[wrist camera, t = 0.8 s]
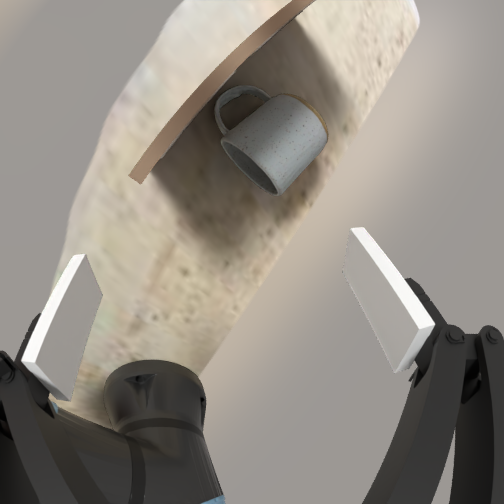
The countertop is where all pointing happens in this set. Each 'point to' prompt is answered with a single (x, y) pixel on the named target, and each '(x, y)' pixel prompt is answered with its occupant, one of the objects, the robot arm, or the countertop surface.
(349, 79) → the countertop surface
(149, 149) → the wooden board
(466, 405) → the robot arm
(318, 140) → the ceramic mug
